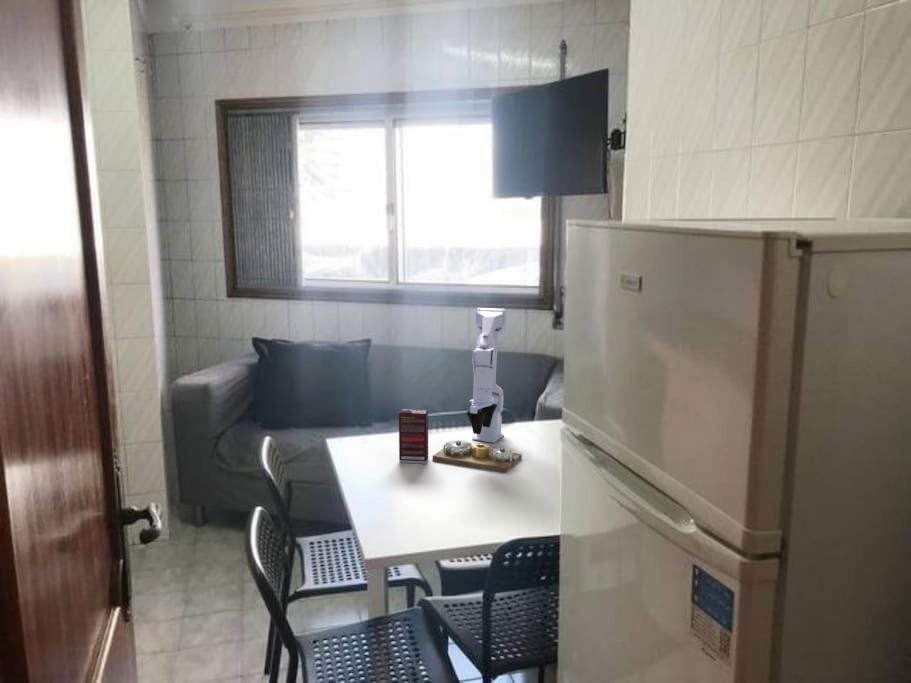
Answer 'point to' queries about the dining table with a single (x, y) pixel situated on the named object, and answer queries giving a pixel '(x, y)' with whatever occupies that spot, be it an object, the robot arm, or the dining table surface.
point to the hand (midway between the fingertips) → (481, 430)
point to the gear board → (462, 455)
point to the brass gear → (480, 451)
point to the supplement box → (413, 436)
